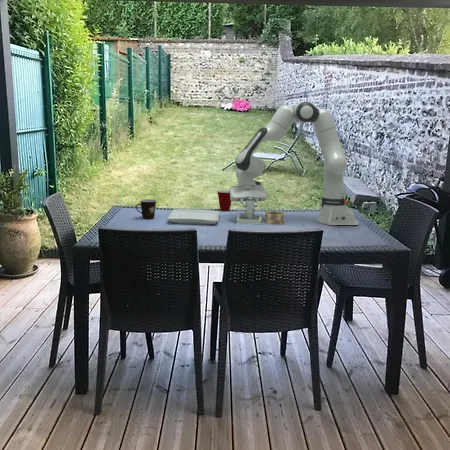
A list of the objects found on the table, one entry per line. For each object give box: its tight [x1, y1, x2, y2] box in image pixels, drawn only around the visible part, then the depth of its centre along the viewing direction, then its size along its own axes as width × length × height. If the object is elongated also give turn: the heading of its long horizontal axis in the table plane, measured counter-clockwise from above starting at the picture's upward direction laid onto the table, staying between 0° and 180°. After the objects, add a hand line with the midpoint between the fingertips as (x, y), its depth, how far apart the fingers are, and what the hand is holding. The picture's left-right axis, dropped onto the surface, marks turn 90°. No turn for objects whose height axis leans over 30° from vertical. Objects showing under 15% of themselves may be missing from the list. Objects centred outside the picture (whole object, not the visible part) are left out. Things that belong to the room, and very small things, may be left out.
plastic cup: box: [216, 190, 232, 212], centre depth 311 cm, size 11×11×12 cm
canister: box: [244, 197, 256, 220], centre depth 277 cm, size 5×5×12 cm
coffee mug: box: [135, 198, 157, 221], centre depth 281 cm, size 12×9×10 cm
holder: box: [264, 210, 285, 226], centre depth 278 cm, size 10×10×6 cm
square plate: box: [166, 208, 221, 225], centre depth 282 cm, size 27×27×4 cm
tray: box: [236, 214, 263, 225], centre depth 278 cm, size 13×13×3 cm
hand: (250, 206), depth 276 cm, fingers closed on canister, 5 cm apart
